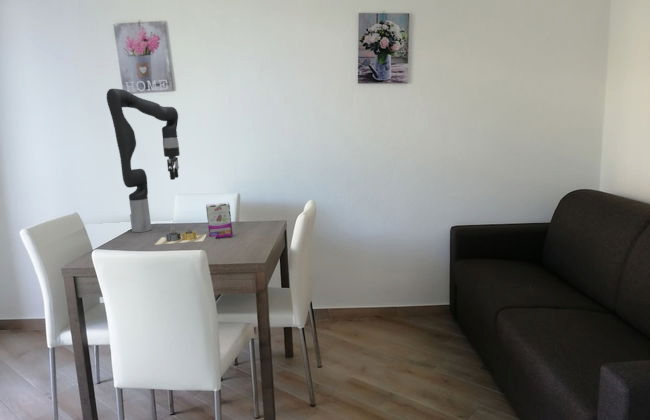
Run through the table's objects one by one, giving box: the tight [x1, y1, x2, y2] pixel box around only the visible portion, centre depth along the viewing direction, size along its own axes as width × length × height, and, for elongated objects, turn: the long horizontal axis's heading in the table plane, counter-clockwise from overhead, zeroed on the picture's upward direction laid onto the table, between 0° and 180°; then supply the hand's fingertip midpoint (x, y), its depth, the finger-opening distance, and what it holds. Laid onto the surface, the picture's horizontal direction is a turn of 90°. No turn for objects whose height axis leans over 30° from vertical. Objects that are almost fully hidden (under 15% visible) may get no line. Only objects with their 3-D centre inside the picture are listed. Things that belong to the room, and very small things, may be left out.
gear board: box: [154, 225, 208, 246], centre depth 222 cm, size 22×14×7 cm, turn 96°
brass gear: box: [181, 230, 198, 240], centre depth 223 cm, size 6×6×3 cm
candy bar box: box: [205, 202, 233, 239], centre depth 227 cm, size 11×5×16 cm, turn 105°
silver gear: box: [165, 231, 182, 242], centre depth 222 cm, size 6×6×3 cm
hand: (174, 178), depth 240 cm, fingers open, 8 cm apart
